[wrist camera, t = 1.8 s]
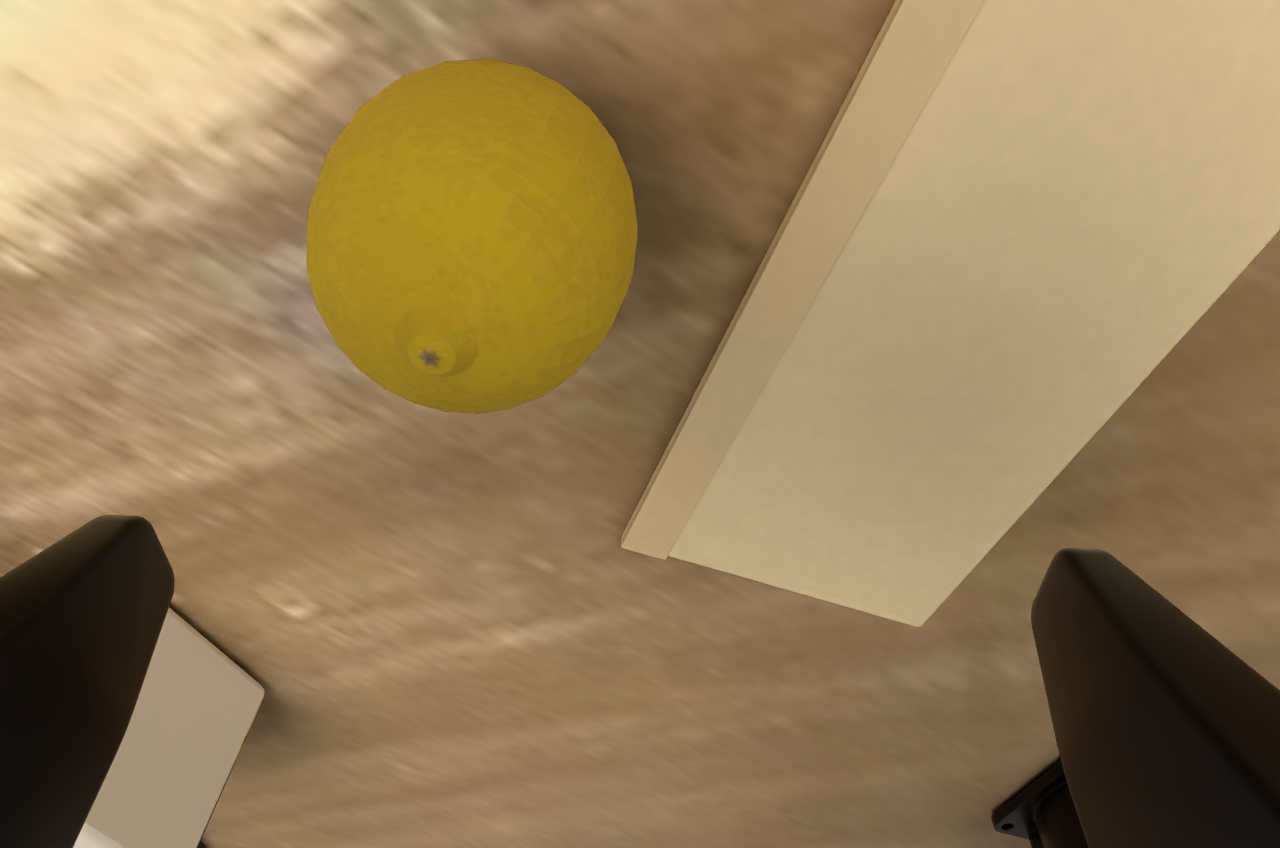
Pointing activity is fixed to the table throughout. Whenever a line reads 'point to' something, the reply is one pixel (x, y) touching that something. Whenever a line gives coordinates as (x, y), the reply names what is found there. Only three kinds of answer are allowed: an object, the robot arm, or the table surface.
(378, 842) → the table surface
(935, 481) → the wooden plank
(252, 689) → the medicine bottle
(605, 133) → the lemon
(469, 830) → the table surface
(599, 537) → the table surface
